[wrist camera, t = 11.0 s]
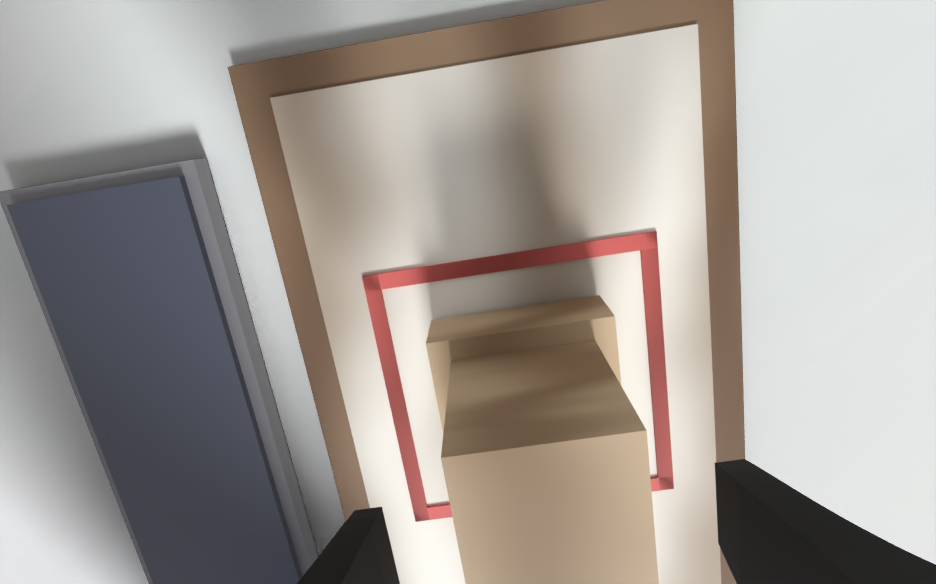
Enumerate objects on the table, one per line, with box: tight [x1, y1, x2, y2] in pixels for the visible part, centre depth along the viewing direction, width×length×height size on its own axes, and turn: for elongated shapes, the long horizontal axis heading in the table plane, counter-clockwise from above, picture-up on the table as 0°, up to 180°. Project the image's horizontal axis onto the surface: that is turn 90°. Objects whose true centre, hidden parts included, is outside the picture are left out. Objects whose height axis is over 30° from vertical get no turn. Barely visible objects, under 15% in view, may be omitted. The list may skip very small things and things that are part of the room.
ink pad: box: [0, 158, 319, 584], centre depth 19 cm, size 6×17×1 cm, turn 9°
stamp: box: [426, 295, 659, 584], centre depth 15 cm, size 5×5×7 cm
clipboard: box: [228, 0, 745, 584], centre depth 18 cm, size 14×22×1 cm, turn 9°
